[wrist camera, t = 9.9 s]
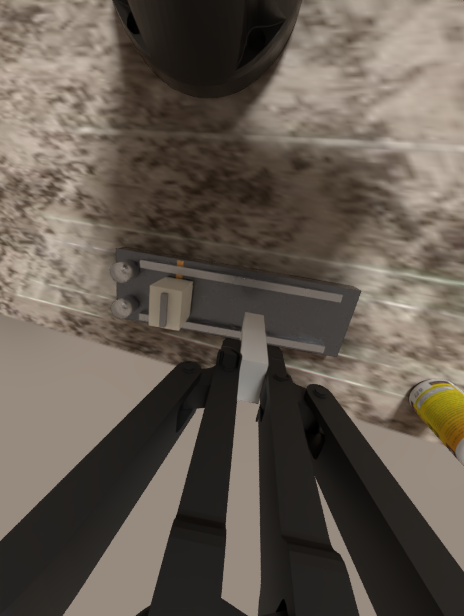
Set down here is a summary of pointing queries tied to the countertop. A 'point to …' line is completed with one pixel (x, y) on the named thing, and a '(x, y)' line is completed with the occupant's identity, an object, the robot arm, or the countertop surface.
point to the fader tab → (170, 303)
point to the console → (239, 299)
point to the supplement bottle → (442, 412)
